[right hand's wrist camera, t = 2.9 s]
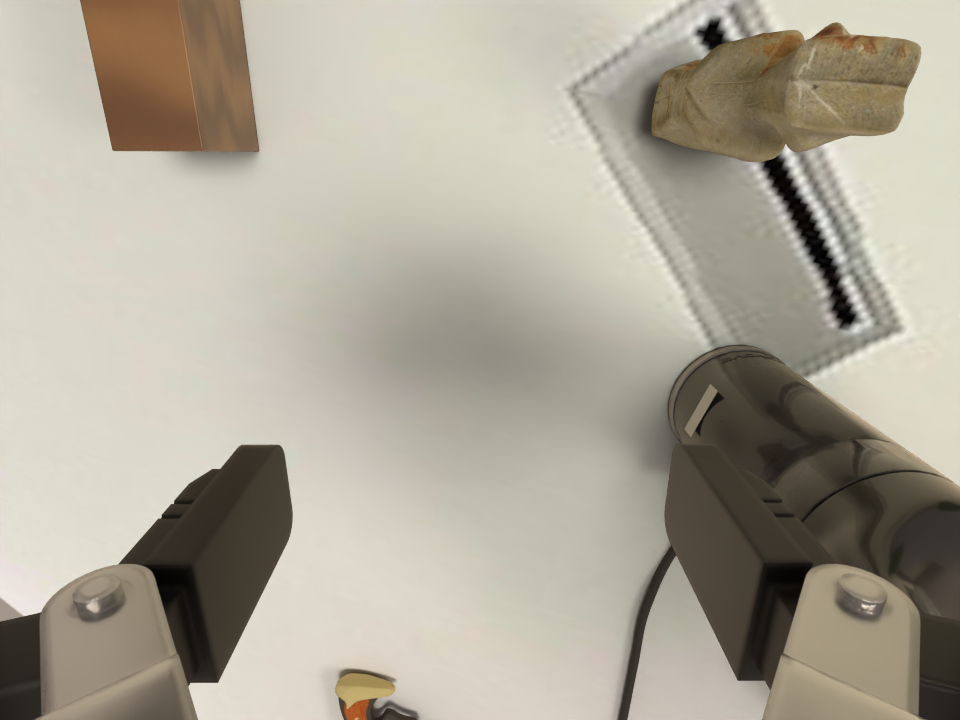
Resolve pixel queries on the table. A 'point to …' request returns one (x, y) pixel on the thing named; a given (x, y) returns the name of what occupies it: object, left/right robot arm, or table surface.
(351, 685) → the toy gun
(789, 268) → the table surface
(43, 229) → the table surface
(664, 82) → the sculpture
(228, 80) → the bar
